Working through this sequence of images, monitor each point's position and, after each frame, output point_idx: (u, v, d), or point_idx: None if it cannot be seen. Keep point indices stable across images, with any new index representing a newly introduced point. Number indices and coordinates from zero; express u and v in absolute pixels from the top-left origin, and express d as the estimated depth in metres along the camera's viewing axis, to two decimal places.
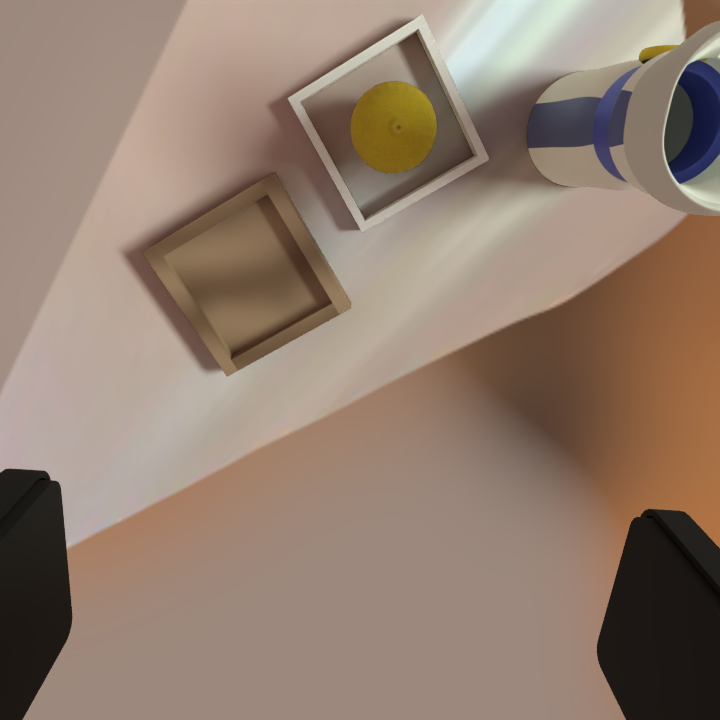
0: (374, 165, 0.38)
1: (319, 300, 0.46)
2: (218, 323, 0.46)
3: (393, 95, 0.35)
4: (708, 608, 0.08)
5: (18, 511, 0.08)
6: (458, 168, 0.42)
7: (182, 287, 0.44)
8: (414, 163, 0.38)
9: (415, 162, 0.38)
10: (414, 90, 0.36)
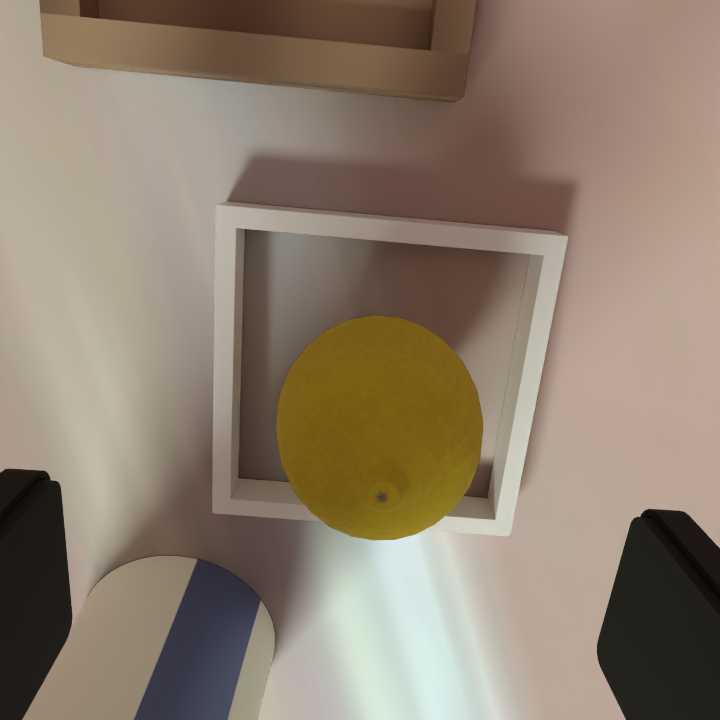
0: (334, 356, 0.14)
1: None
2: None
3: (449, 501, 0.14)
4: (708, 608, 0.08)
5: (18, 511, 0.08)
6: (229, 457, 0.20)
7: None
8: (281, 444, 0.15)
9: (282, 449, 0.15)
10: None
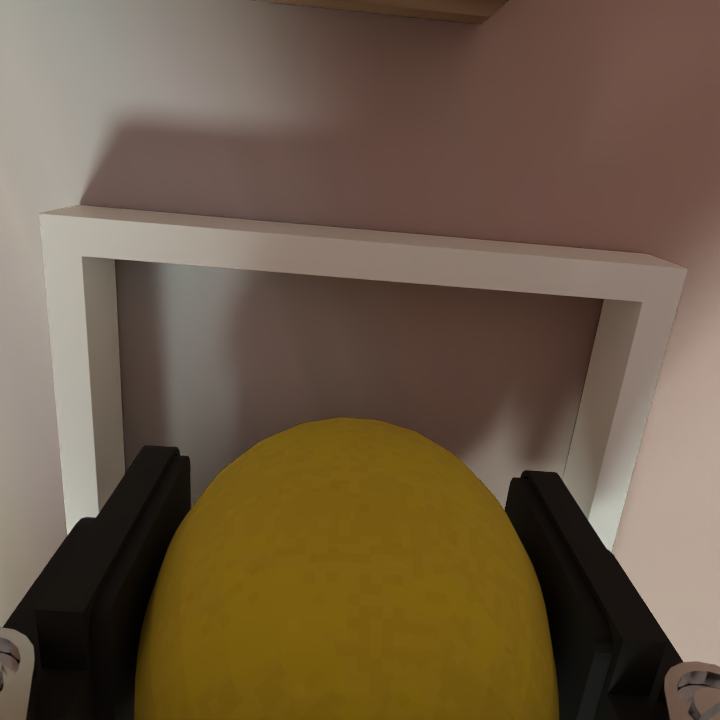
0: (242, 556, 0.07)
1: None
2: None
3: None
4: (551, 551, 0.08)
5: (167, 481, 0.09)
6: None
7: None
8: None
9: None
10: None
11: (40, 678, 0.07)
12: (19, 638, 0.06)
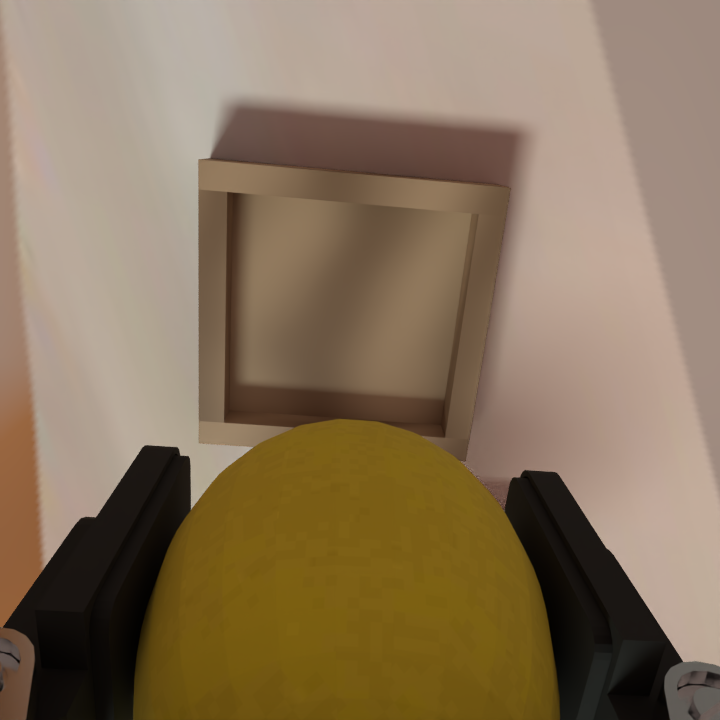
0: (241, 559, 0.07)
1: (240, 390, 0.25)
2: (306, 207, 0.23)
3: None
4: (550, 551, 0.08)
5: (167, 481, 0.09)
6: None
7: None
8: None
9: None
10: None
11: (40, 678, 0.07)
12: (19, 638, 0.06)
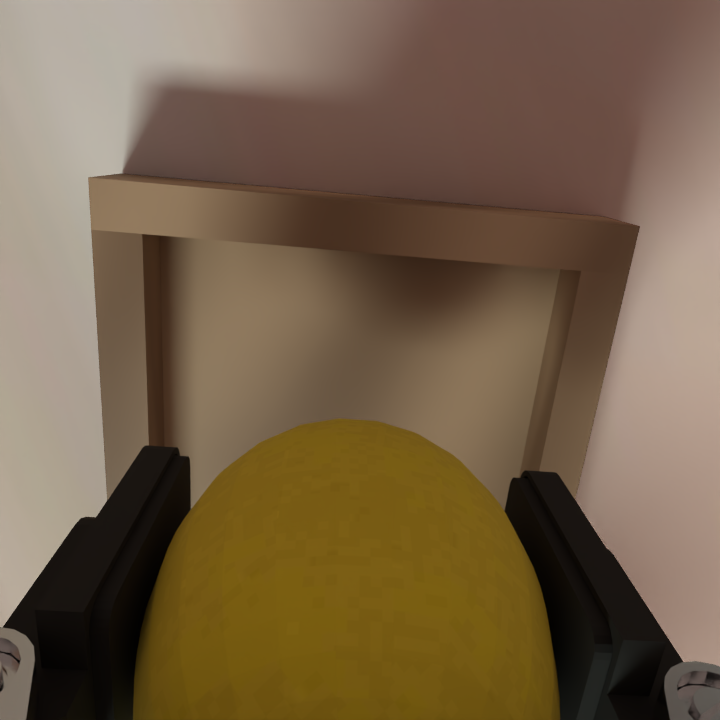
0: (241, 558, 0.07)
1: None
2: (283, 256, 0.14)
3: None
4: (551, 551, 0.08)
5: (167, 481, 0.09)
6: None
7: None
8: None
9: None
10: None
11: (40, 678, 0.07)
12: (19, 638, 0.06)
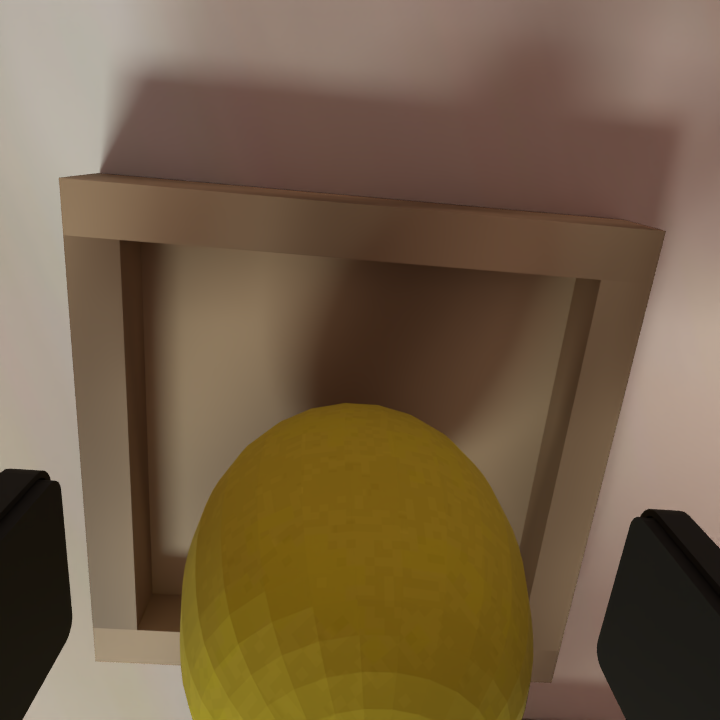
0: (274, 527, 0.08)
1: (169, 564, 0.15)
2: (276, 263, 0.12)
3: None
4: (708, 608, 0.08)
5: (18, 511, 0.08)
6: None
7: None
8: (184, 676, 0.08)
9: (184, 686, 0.08)
10: None
11: None
12: None
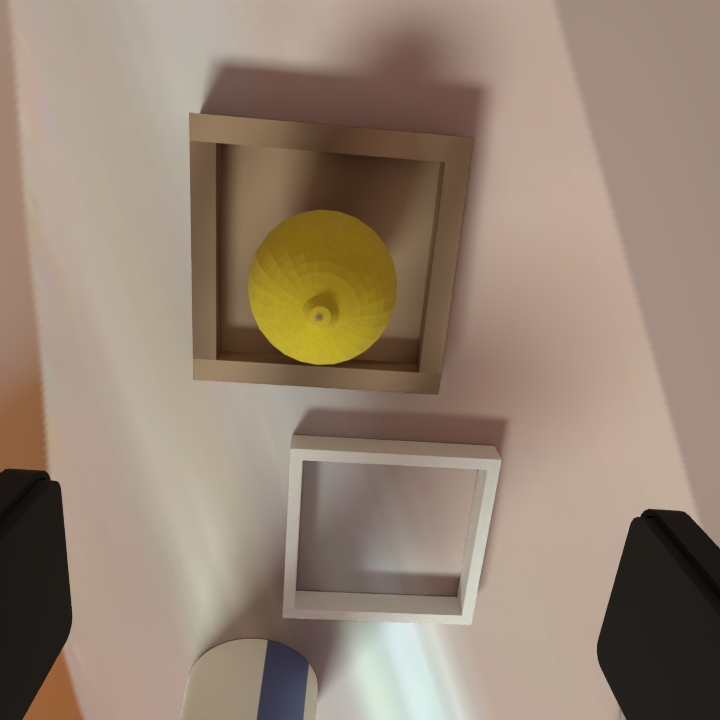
0: (288, 230, 0.20)
1: (230, 332, 0.27)
2: (288, 159, 0.25)
3: (368, 330, 0.20)
4: (708, 608, 0.08)
5: (18, 511, 0.08)
6: (294, 585, 0.31)
7: (380, 156, 0.24)
8: (251, 294, 0.21)
9: (252, 297, 0.21)
10: (353, 357, 0.22)
11: None
12: None
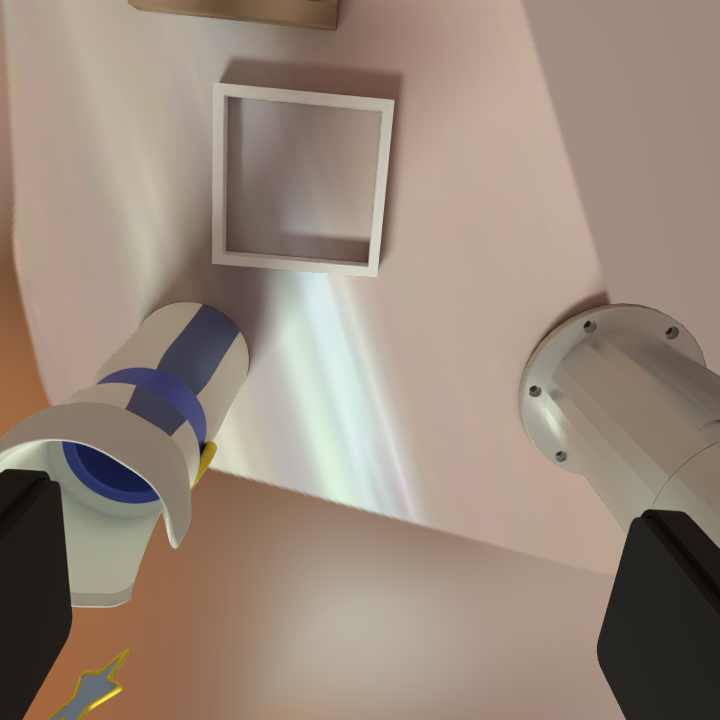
0: None
1: None
2: None
3: None
4: (708, 608, 0.08)
5: (18, 511, 0.08)
6: (221, 228, 0.36)
7: None
8: None
9: None
10: None
11: None
12: None
